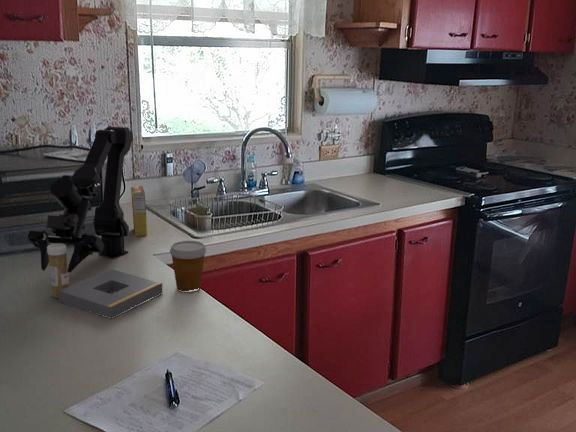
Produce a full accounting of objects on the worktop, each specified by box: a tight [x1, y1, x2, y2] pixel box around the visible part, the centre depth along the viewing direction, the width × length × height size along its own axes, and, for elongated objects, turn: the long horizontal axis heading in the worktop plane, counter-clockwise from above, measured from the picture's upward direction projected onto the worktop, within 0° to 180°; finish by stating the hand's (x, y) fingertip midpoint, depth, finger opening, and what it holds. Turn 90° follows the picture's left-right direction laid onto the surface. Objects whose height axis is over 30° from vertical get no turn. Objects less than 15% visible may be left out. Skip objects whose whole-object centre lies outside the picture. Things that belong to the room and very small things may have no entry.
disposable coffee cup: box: [169, 240, 207, 292], centre depth 161 cm, size 10×10×12 cm
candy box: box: [130, 185, 148, 237], centre depth 206 cm, size 9×4×15 cm, turn 17°
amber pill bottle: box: [47, 243, 70, 299], centre depth 154 cm, size 5×5×14 cm
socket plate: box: [58, 269, 164, 318], centre depth 155 cm, size 18×18×3 cm
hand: (55, 271), depth 153 cm, fingers open, 7 cm apart
